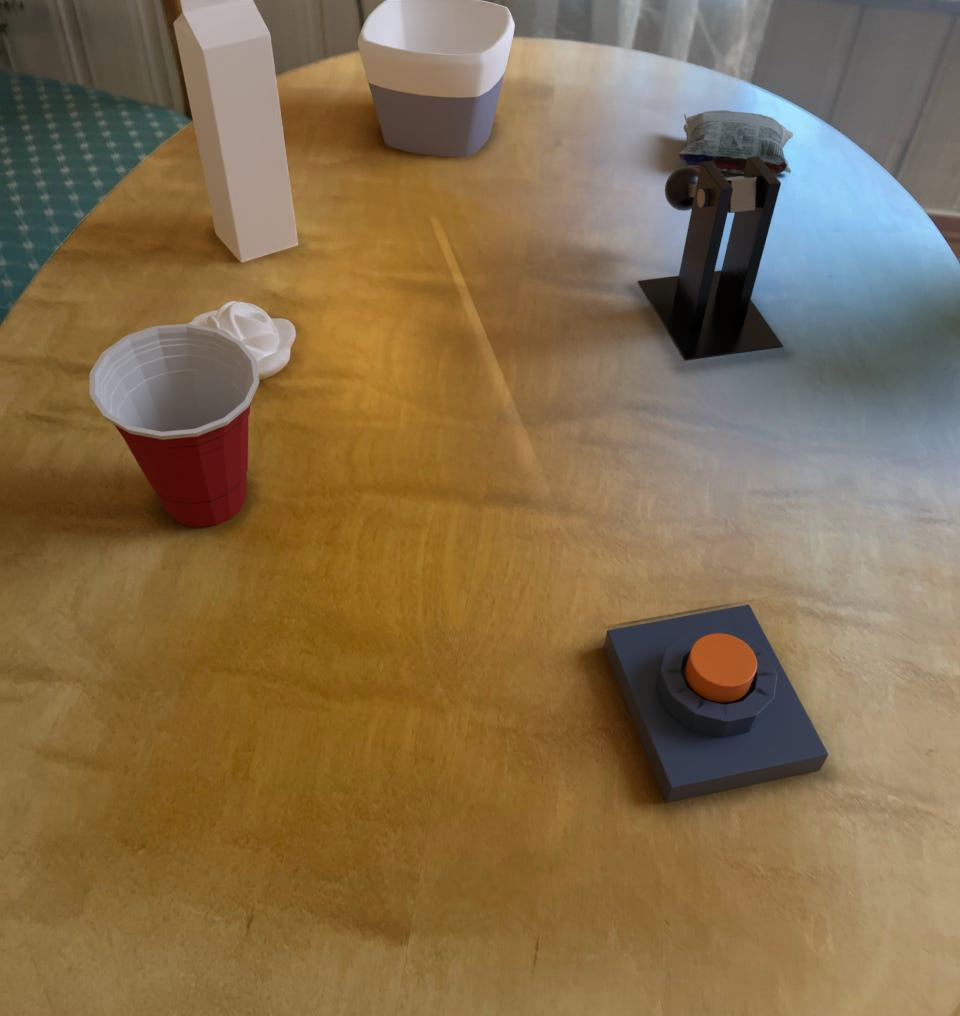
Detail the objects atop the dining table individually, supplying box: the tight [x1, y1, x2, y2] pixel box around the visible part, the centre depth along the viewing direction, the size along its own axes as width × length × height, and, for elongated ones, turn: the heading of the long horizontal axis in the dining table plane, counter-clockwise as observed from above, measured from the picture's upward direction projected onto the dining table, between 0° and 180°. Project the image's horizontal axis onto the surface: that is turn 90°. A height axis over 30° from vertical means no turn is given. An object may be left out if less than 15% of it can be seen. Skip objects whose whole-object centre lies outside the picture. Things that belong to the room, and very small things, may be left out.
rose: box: [187, 300, 297, 381], centre depth 84 cm, size 10×4×10 cm
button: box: [685, 633, 757, 703], centre depth 61 cm, size 4×4×2 cm
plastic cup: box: [89, 323, 260, 529], centre depth 70 cm, size 11×11×12 cm
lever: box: [664, 165, 757, 214], centre depth 85 cm, size 13×4×4 cm, turn 14°
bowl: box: [357, 0, 516, 158], centre depth 106 cm, size 15×15×11 cm
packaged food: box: [677, 109, 794, 176], centre depth 106 cm, size 9×12×5 cm
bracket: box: [638, 156, 784, 361], centre depth 84 cm, size 12×9×14 cm
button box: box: [603, 604, 829, 804], centre depth 63 cm, size 12×10×4 cm
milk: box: [172, 0, 299, 264], centre depth 88 cm, size 6×6×22 cm
